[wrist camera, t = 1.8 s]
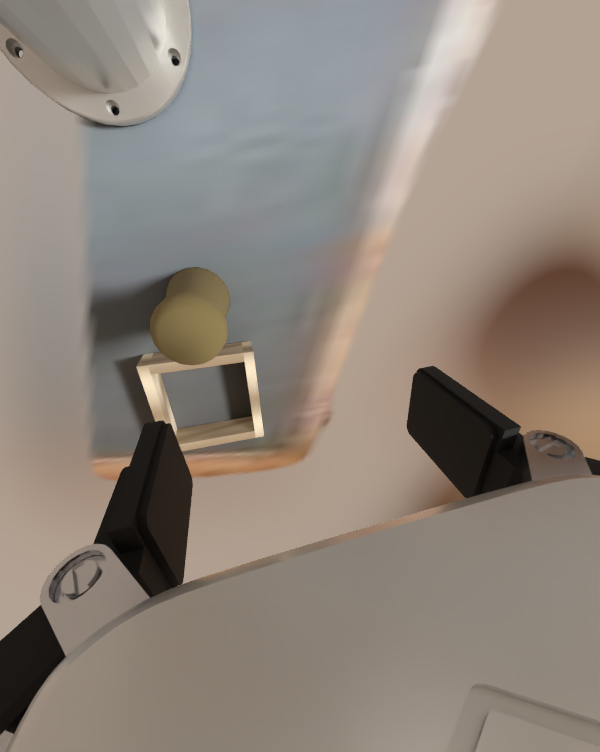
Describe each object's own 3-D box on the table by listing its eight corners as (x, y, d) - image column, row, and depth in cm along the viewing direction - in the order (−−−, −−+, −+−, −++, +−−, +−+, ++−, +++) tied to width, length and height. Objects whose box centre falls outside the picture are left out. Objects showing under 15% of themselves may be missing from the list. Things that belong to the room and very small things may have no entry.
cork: (159, 317, 29) (129, 365, 19) (174, 256, 27) (148, 276, 17) (220, 336, 31) (219, 386, 22) (238, 281, 29) (246, 311, 19)
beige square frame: (143, 354, 30) (136, 366, 27) (250, 341, 32) (253, 351, 29) (170, 436, 35) (166, 454, 33) (261, 421, 37) (263, 436, 35)
